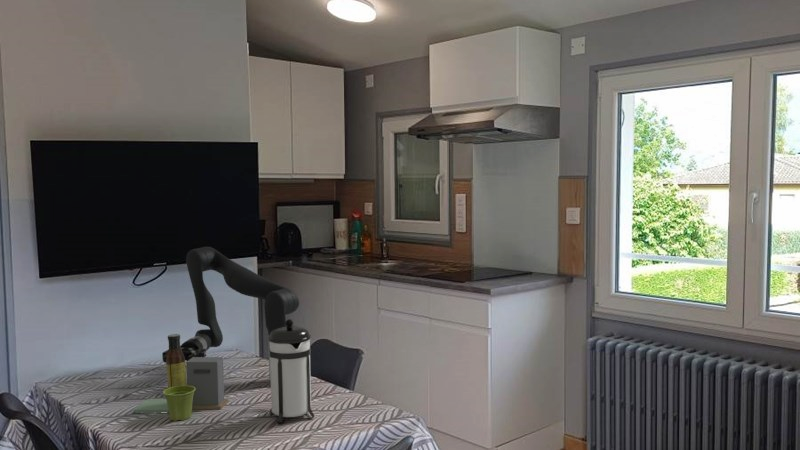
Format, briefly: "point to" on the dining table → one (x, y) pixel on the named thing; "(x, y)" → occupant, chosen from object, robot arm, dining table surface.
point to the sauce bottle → (175, 363)
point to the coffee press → (290, 372)
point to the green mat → (153, 406)
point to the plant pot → (179, 401)
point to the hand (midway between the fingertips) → (176, 359)
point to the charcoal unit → (206, 382)
